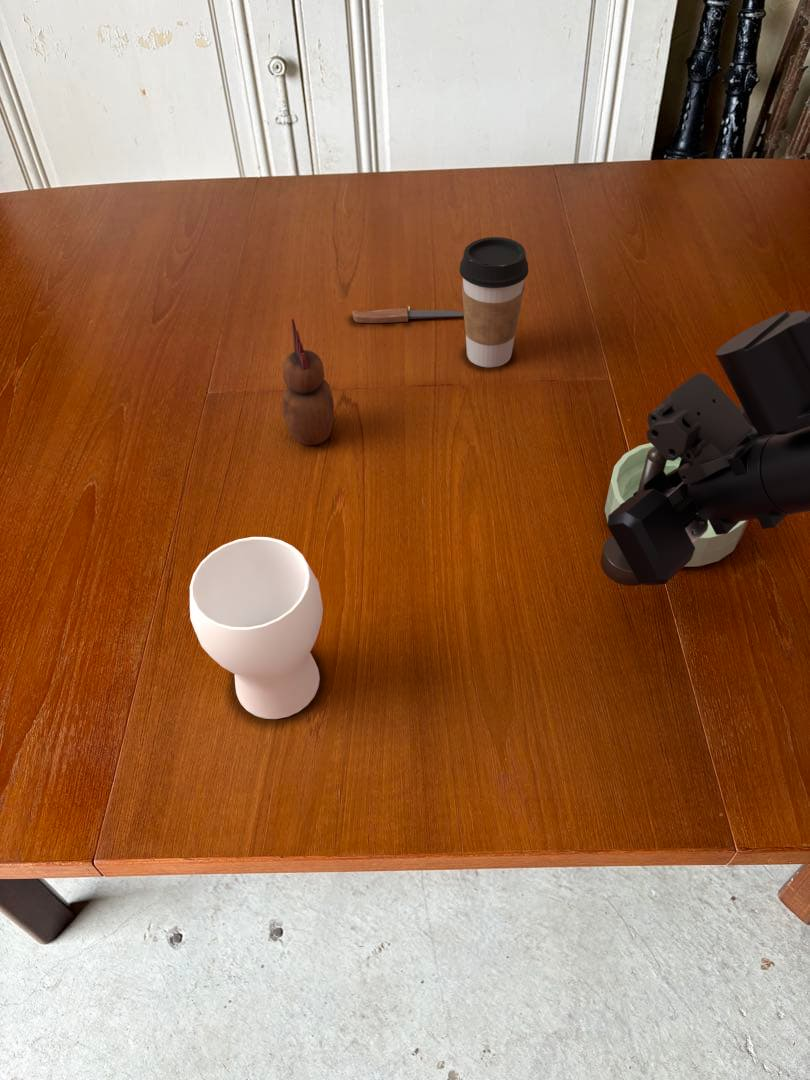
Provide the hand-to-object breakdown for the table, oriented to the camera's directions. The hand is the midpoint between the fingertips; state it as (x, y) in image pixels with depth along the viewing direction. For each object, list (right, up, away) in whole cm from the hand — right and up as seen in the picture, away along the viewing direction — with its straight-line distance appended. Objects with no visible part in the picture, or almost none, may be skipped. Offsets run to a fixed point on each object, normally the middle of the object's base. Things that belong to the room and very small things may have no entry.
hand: (629, 504), depth 70 cm
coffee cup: (-8, +21, +38) cm, 44 cm away
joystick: (+1, -5, +5) cm, 7 cm away
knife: (-18, +28, +44) cm, 56 cm away
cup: (-31, -16, +5) cm, 36 cm away
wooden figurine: (-31, +9, +28) cm, 43 cm away
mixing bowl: (+9, -1, +17) cm, 19 cm away
